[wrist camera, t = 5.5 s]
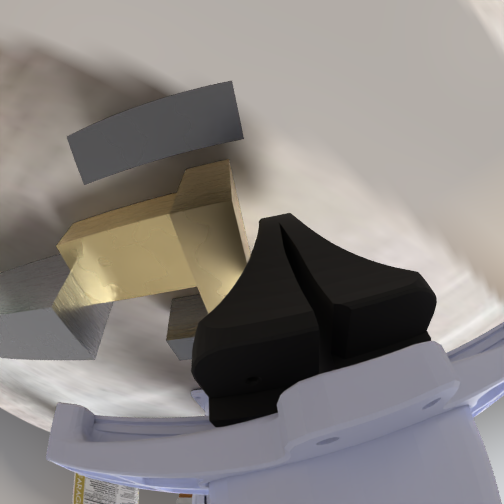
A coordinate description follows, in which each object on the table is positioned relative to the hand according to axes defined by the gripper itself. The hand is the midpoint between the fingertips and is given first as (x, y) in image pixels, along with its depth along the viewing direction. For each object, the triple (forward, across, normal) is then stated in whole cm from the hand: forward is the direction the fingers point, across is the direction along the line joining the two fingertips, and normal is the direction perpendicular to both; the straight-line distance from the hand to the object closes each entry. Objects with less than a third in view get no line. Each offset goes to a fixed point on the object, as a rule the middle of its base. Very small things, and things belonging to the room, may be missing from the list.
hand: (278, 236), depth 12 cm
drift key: (+2, +6, 0) cm, 6 cm away
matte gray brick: (+3, +15, +2) cm, 16 cm away
